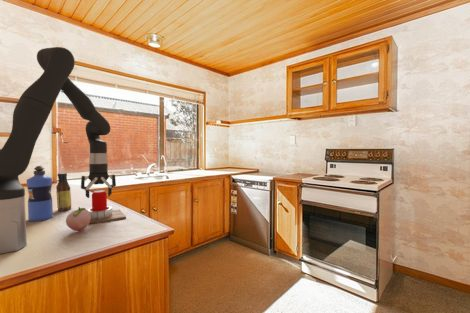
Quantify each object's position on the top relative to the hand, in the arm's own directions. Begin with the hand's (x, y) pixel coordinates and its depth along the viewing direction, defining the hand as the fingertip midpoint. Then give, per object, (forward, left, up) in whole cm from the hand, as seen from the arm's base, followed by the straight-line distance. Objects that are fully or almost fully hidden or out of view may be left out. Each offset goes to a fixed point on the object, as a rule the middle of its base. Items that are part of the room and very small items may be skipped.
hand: (98, 196), depth 114 cm
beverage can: (0, 0, -10) cm, 10 cm away
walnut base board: (0, 0, -10) cm, 10 cm away
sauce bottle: (+29, +14, -11) cm, 34 cm away
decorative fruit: (-16, +9, -11) cm, 21 cm away
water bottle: (+16, +23, -11) cm, 30 cm away
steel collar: (0, 0, -10) cm, 10 cm away
